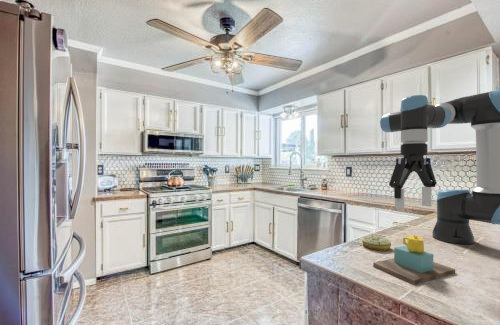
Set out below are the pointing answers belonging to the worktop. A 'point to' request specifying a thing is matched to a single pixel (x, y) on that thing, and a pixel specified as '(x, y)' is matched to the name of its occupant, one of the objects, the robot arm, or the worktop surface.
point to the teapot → (414, 244)
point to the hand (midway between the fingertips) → (413, 207)
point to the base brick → (413, 259)
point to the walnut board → (413, 271)
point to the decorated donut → (376, 243)
